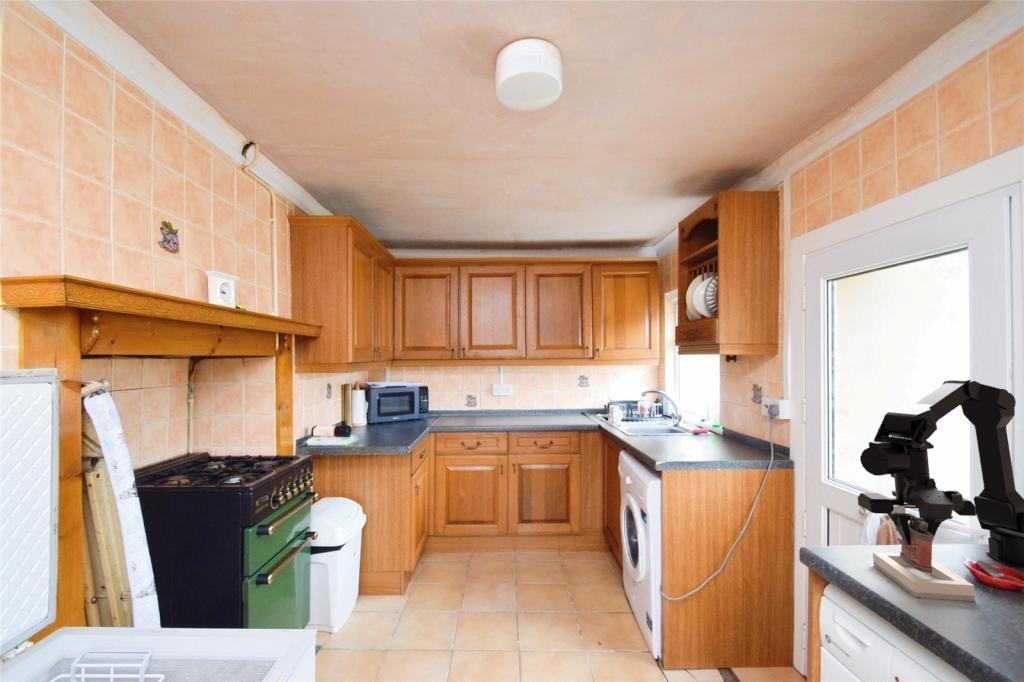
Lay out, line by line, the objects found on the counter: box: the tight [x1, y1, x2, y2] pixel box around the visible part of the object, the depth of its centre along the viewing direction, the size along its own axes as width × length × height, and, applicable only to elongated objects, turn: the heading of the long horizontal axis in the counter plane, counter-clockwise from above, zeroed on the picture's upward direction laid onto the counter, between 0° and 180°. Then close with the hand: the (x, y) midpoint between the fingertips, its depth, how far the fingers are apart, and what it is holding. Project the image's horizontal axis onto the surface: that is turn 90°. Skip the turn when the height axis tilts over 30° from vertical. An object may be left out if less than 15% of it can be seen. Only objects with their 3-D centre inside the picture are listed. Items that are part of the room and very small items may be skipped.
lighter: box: [899, 512, 935, 573], centre depth 94 cm, size 8×3×10 cm, turn 164°
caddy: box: [872, 551, 976, 602], centre depth 94 cm, size 10×14×3 cm
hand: (917, 544), depth 94 cm, fingers closed on lighter, 3 cm apart
